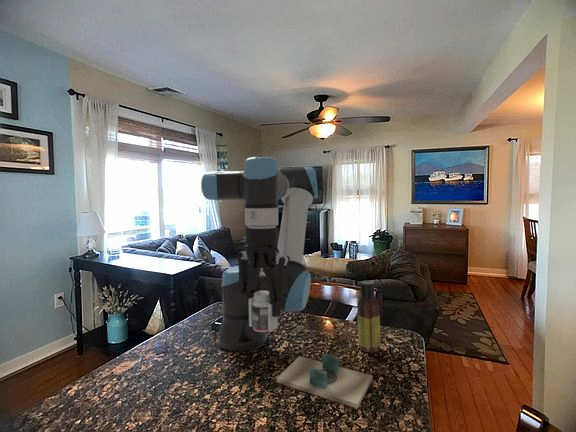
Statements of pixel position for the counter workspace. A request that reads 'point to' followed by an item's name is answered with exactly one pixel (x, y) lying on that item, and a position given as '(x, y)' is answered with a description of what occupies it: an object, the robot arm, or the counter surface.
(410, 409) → the counter surface
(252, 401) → the counter surface
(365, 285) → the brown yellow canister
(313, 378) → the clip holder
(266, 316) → the pill bottle
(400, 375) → the counter surface
